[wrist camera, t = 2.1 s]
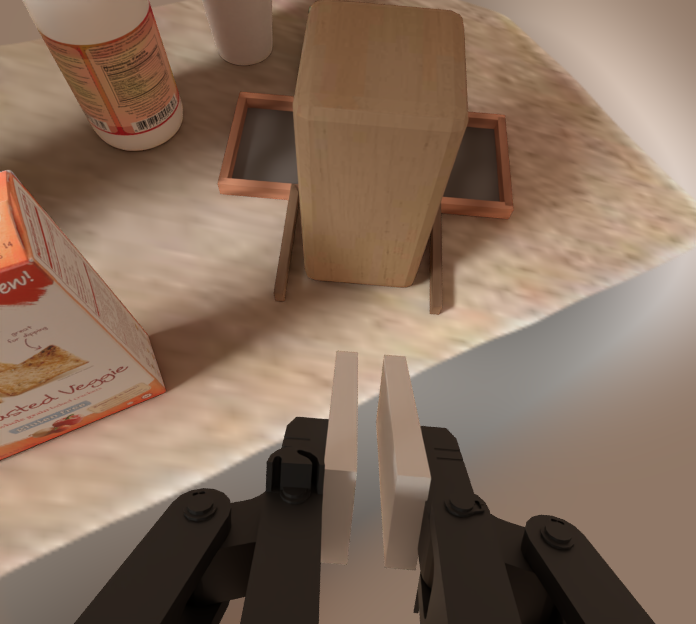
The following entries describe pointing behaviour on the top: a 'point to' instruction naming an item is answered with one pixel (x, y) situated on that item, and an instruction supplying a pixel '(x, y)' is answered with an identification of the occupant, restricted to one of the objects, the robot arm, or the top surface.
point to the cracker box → (60, 332)
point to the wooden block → (376, 136)
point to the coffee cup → (241, 29)
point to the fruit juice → (113, 67)
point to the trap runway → (282, 177)
